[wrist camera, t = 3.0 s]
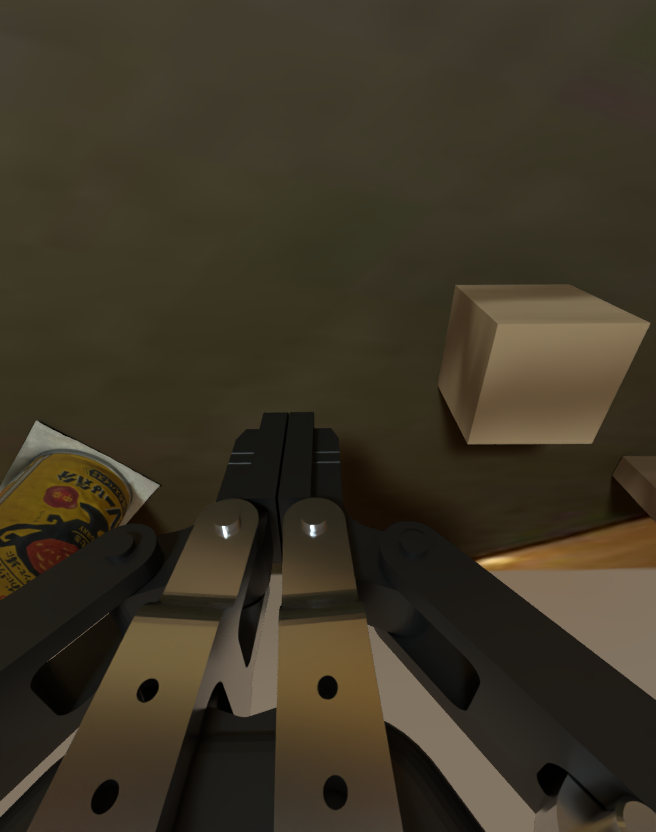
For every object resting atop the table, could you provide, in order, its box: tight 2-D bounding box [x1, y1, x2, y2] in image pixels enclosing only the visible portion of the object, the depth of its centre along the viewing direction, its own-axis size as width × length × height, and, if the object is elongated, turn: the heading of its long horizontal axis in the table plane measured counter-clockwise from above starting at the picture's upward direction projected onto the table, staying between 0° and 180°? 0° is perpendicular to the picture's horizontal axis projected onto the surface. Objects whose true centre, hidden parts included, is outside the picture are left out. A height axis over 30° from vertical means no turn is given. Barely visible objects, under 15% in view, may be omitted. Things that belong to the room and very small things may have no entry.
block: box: [438, 284, 650, 444], centre depth 16 cm, size 5×5×5 cm
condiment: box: [0, 421, 160, 600], centre depth 18 cm, size 7×8×12 cm
